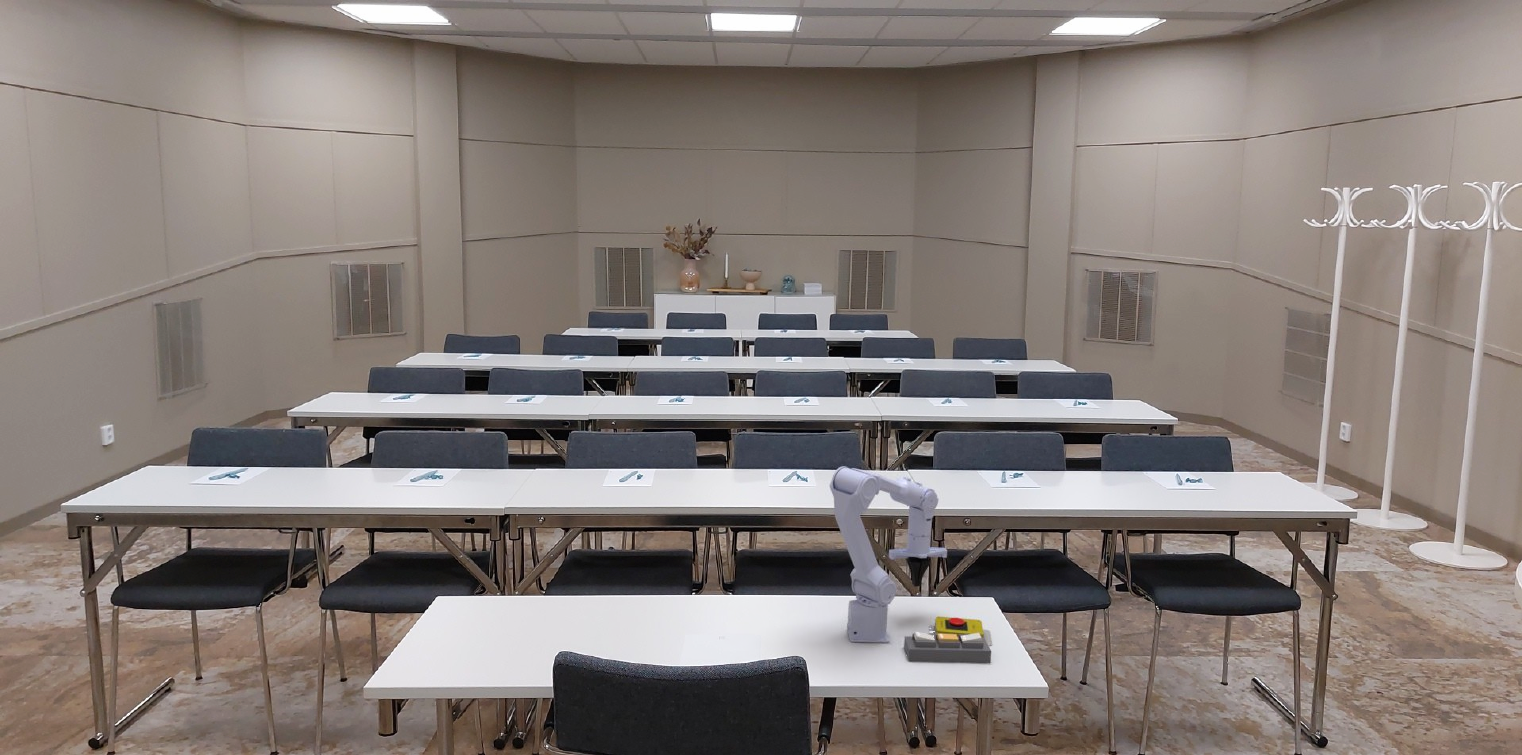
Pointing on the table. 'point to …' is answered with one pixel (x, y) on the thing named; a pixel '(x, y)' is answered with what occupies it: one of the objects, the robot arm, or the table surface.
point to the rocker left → (923, 637)
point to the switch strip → (946, 651)
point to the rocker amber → (947, 637)
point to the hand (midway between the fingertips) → (916, 585)
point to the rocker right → (971, 638)
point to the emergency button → (960, 627)
